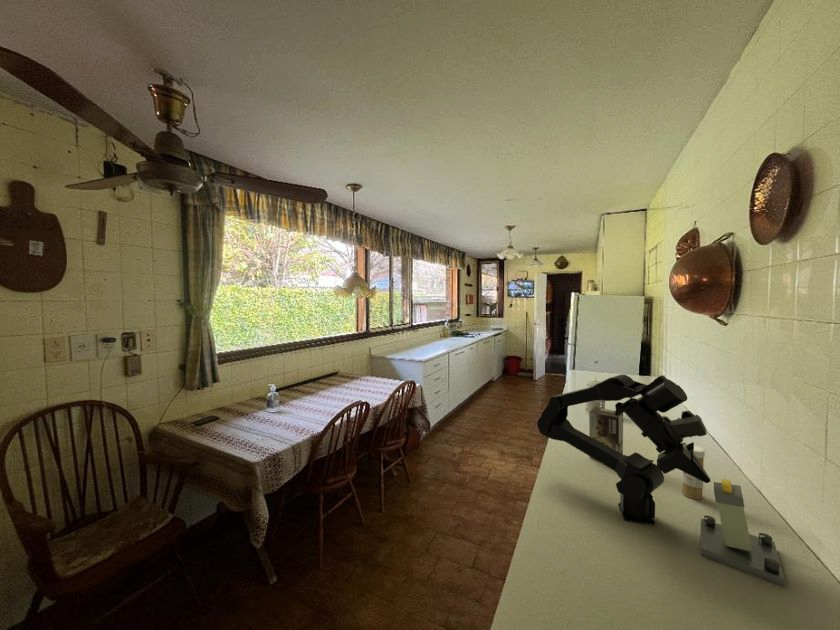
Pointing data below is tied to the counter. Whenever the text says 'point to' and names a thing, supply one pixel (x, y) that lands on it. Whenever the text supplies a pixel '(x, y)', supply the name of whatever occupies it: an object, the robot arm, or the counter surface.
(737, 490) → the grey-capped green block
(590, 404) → the french press
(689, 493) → the sprinkles bottle
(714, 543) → the plate
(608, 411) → the coffee box
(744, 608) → the counter surface
